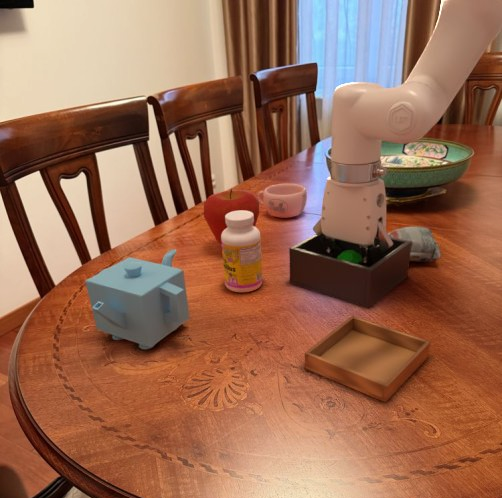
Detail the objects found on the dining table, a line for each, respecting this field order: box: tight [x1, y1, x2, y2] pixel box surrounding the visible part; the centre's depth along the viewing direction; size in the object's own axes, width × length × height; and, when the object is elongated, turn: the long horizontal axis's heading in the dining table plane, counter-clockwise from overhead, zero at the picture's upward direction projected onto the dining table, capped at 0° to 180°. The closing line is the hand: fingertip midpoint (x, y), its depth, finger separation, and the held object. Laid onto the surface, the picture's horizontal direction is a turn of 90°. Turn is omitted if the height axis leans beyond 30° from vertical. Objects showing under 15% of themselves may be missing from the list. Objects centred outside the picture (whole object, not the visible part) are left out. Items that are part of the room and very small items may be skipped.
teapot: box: [84, 248, 191, 350], centre depth 77 cm, size 16×18×11 cm
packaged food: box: [387, 226, 442, 263], centre depth 97 cm, size 9×12×5 cm
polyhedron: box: [337, 250, 362, 264], centre depth 89 cm, size 5×5×5 cm
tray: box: [304, 315, 431, 403], centre depth 69 cm, size 12×12×2 cm
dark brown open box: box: [288, 233, 412, 309], centre depth 89 cm, size 16×14×7 cm
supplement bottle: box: [221, 210, 263, 293], centre depth 88 cm, size 7×7×13 cm
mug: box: [256, 183, 308, 219], centre depth 120 cm, size 12×10×6 cm
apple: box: [203, 188, 260, 246], centre depth 103 cm, size 11×11×12 cm
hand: (349, 275), depth 91 cm, fingers closed on polyhedron, 5 cm apart
